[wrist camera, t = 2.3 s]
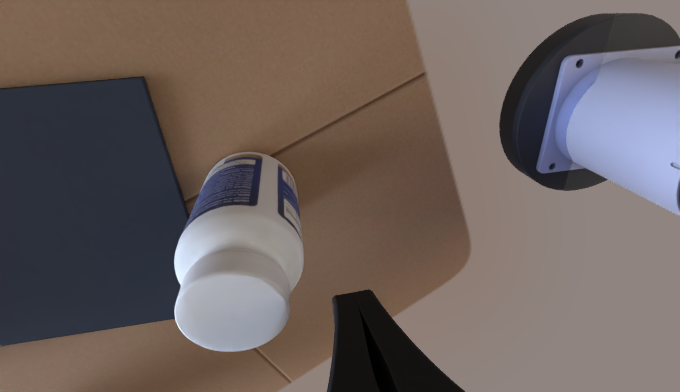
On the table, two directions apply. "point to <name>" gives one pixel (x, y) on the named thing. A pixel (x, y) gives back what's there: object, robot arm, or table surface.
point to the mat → (85, 210)
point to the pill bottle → (239, 255)
